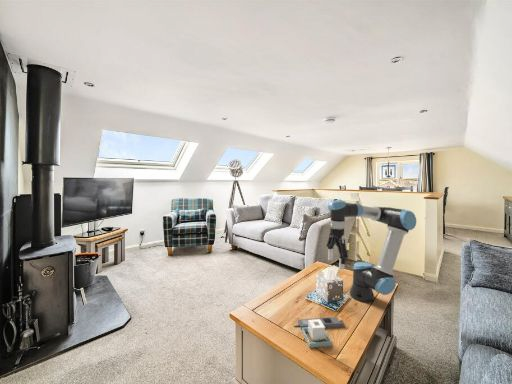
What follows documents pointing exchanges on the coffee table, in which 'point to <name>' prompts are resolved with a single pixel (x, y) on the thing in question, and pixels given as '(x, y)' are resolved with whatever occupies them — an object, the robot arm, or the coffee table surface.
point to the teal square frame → (316, 344)
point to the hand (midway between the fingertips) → (335, 264)
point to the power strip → (326, 322)
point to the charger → (316, 329)
